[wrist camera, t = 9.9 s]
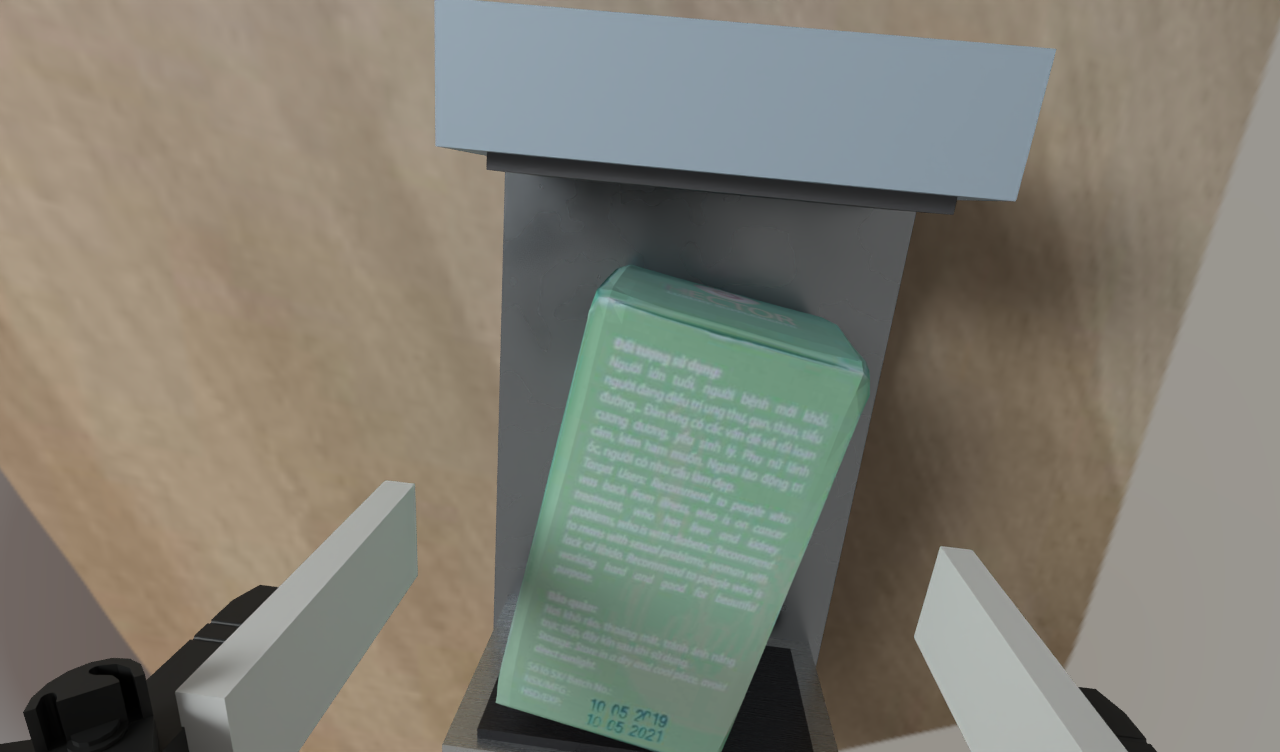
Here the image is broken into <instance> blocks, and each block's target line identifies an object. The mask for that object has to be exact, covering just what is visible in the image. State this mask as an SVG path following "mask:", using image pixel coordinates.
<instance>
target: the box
mask: <svg viewBox="0 0 1280 752" xmlns="http://www.w3.org/2000/svg"><path fill="white" fill-rule="evenodd" d="M869 396H870V371H869V369H868V366H867V363H866V361H865V360H864V359H863V358H862V356H861V355H860V354H859V353H858V352H857V351H856V350H855V348H854V347H853V346H852V344H851V343H850V342H849V340H848V339H847V338H846V336H845V335H844V333H843V332H842V331H841V329H840V328H839V327H838V325H836V324H834V323H832V322H830V321H828V320H826V319H824V318H822V317H819V316H815V315H811V314H807V313H804V312H800V311H796V310H792V309H788V308H784V307H781V306H777V305H773V304H770V303H766V302H763V301H759V300H755V299H752V298H748V297H745V296H741V295H738V294H734V293H730V292H727V291H723V290H720V289H716V288H712V287H709V286H705V285H702V284H698V283H694V282H691V281H687V280H683V279H680V278H676V277H673V276H669V275H666V274H662V273H659V272H655V271H652V270H648V269H645V268H641V267H638V266H634V265H628V266H624V267H620V268H617V269H616V270H615V271H614V272H613V273H612V274H611V275H610V276H609V277H608V278H607V279H606V280H605V281H604V282H603V283H602V284H601V285H600V286H599V287H598V289H597V291H596V294H595V296H594V299H593V302H592V305H591V307H590V310H589V313H588V319H587V323H586V327H585V331H584V335H583V339H582V343H581V347H580V351H579V355H578V359H577V363H576V367H575V371H574V375H573V379H572V383H571V387H570V391H569V395H568V399H567V403H566V407H565V411H564V416H563V420H562V424H561V428H560V432H559V436H558V440H557V444H556V448H555V452H554V456H553V460H552V464H551V468H550V472H549V476H548V480H547V484H546V488H545V493H544V497H543V501H542V505H541V509H540V513H539V517H538V521H537V525H536V529H535V533H534V537H533V541H532V545H531V549H530V553H529V558H528V562H527V566H526V570H525V573H524V577H523V581H522V585H521V589H520V593H519V597H518V601H517V605H516V609H515V613H514V616H513V620H512V624H511V628H510V632H509V636H508V640H507V644H506V648H505V652H504V656H503V661H502V665H501V669H500V673H499V679H498V687H497V698H496V703H497V704H501V705H504V706H507V707H511V708H514V709H517V710H521V711H524V712H527V713H530V714H534V715H537V716H540V717H543V718H547V719H550V720H553V721H557V722H560V723H563V724H566V725H570V726H573V727H576V728H579V729H583V730H586V731H589V732H593V733H596V734H599V735H602V736H606V737H609V738H612V739H615V740H619V741H622V742H625V743H629V744H632V745H635V746H638V747H642V748H645V749H648V750H651V751H655V752H721V751H722V749H723V747H724V745H725V742H726V740H727V738H728V735H729V733H730V731H731V729H732V726H733V724H734V721H735V719H736V716H737V714H738V712H739V709H740V707H741V704H742V702H743V699H744V697H745V694H746V692H747V690H748V687H749V685H750V682H751V680H752V678H753V675H754V673H755V670H756V668H757V666H758V663H759V661H760V658H761V656H762V653H763V651H764V649H765V646H766V644H767V641H768V639H769V637H770V634H771V632H772V629H773V627H774V625H775V622H776V620H777V617H778V615H779V612H780V610H781V608H782V605H783V603H784V600H785V598H786V596H787V593H788V591H789V588H790V586H791V584H792V581H793V579H794V577H795V574H796V572H797V569H798V567H799V565H800V562H801V560H802V557H803V555H804V553H805V550H806V548H807V546H808V543H809V541H810V538H811V536H812V534H813V531H814V529H815V526H816V524H817V521H818V519H819V516H820V514H821V511H822V509H823V506H824V504H825V501H826V499H827V496H828V494H829V491H830V489H831V486H832V484H833V481H834V479H835V476H836V474H837V472H838V469H839V467H840V464H841V462H842V459H843V457H844V454H845V452H846V449H847V447H848V445H849V442H850V440H851V437H852V435H853V432H854V430H855V427H856V425H857V422H858V420H859V418H860V415H861V413H862V411H863V409H864V407H865V405H866V402H867V400H868V398H869Z"/></svg>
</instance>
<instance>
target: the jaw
mask: <svg viewBox="0 0 1280 752" xmlns="http://www.w3.org/2000/svg"><path fill="white" fill-rule="evenodd" d="M1055 52H1056V49H1050V48H1038V47H1026V46H1014V45H1002V44H990V43H979V42H967V41H955V40H943V39H931V38H919V37H907V36H895V35H883V34H871V33H859V32H847V31H835V30H823V29H811V28H799V27H787V26H775V25H763V24H751V23H739V22H727V21H715V20H703V19H691V18H679V17H667V16H655V15H644V14H632V13H620V12H608V11H596V10H584V9H572V8H560V7H548V6H536V5H524V4H512V3H500V2H488V1H476V0H435V130H436V146H438V147H444V148H449V149H454V150H459V151H464V152H470V153H475V154H480V155H485V156H487V170H494V171H502V172H511V173H519V174H527V175H535V176H543V177H554V178H564V179H574V180H585V181H595V182H605V183H616V184H626V185H636V186H647V187H657V188H667V189H678V190H688V191H698V192H709V193H719V194H729V195H740V196H750V197H760V198H771V199H781V200H791V201H802V202H812V203H822V204H832V205H843V206H853V207H863V208H874V209H885V210H898V211H911V212H924V213H937V214H950V215H953V214H954V210H955V206H956V202H957V200H978V201H1016V199H1017V195H1018V191H1019V188H1020V184H1021V180H1022V176H1023V173H1024V169H1025V165H1026V161H1027V158H1028V154H1029V150H1030V146H1031V143H1032V139H1033V135H1034V131H1035V127H1036V124H1037V120H1038V116H1039V112H1040V109H1041V105H1042V101H1043V97H1044V94H1045V90H1046V86H1047V82H1048V79H1049V75H1050V71H1051V67H1052V64H1053V60H1054V56H1055Z"/></svg>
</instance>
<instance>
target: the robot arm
mask: <svg viewBox="0 0 1280 752" xmlns="http://www.w3.org/2000/svg"><path fill="white" fill-rule="evenodd" d="M417 576H418V566H417V534H416V502H415V484H413V483H404V482H396V481H387V480H385V481H384V482H383V483H382V484H381V485H380V486H379V487H378V488H377V489H376V490H375V491H374V492H373V493H372V494H371V495H370V496H369V497H368V498H367V499H366V500H365V501H364V502H363V503H362V504H361V505H360V506H359V507H358V508H357V509H356V510H355V511H354V512H353V513H352V514H351V515H350V516H349V517H348V518H347V519H346V520H345V521H344V522H343V523H342V524H341V525H340V526H339V527H338V528H337V529H336V530H335V531H334V532H333V533H332V534H331V535H330V536H329V537H328V538H327V539H326V540H325V541H324V542H323V543H322V544H321V545H320V546H319V547H318V548H317V549H316V550H315V551H314V552H313V553H312V554H311V555H310V556H309V557H308V558H307V559H306V560H305V561H304V562H303V563H302V564H301V565H300V566H299V567H298V568H297V569H296V571H295V572H294V573H293V574H292V575H291V576H290V577H289V578H288V579H287V580H286V581H285V582H284V583H283V584H282V585H281V586H280V587H272V586H264V585H259V586H257V587H255V588H254V589H252V590H250V591H248V592H246V593H245V594H243V595H241V596H239V597H237V598H236V599H234V600H232V601H231V602H230V603H229V604H228V605H227V606H226V607H225V608H224V609H223V610H221V611H220V612H219V613H218V614H217V615H216V616H215V617H214V618H213V619H212V621H211V623H210V624H208V623H207V624H206V625H205V626H204V627H203V628H202V629H201V630H200V631H199V632H198V633H197V634H196V635H195V636H194V639H193V640H189V641H188V642H187V643H186V644H185V645H184V646H183V647H182V648H181V649H179V650H178V651H177V652H176V653H175V654H174V655H173V656H172V657H171V658H170V659H169V660H168V661H167V662H166V663H164V664H163V665H162V666H161V667H160V668H159V669H158V670H157V671H156V672H155V673H154V674H153V675H152V676H150V677H149V678H148V679H147V680H146V678H145V674H144V671H143V668H142V666H141V664H139V663H137V662H135V661H133V660H131V659H123V658H121V659H120V658H110V659H105V660H101V661H96V662H91V663H88V664H85V665H83V666H80V667H78V668H75V669H73V670H70V671H68V672H66V673H64V674H63V675H61V676H59V677H58V678H56V679H54V680H53V681H51V682H49V683H47V684H46V685H45V686H44V687H43V688H42V689H41V690H40V691H39V692H38V693H36V694H35V695H34V696H33V697H32V698H31V700H30V701H29V703H28V705H27V707H26V709H25V710H24V712H23V713H24V717H25V720H26V723H27V726H28V730H29V733H30V736H31V740H25V741H18V742H11V743H4V744H0V752H299V750H300V749H301V747H302V746H303V744H304V743H305V741H306V740H307V738H308V737H309V735H310V734H311V732H312V731H313V729H314V728H315V727H316V725H317V724H318V722H319V721H320V719H321V718H322V716H323V715H324V713H325V712H326V710H327V709H328V707H329V706H330V704H331V703H332V701H333V700H334V698H335V697H336V695H337V694H338V693H339V691H340V690H341V688H342V687H343V685H344V684H345V682H346V681H347V679H348V678H349V676H350V675H351V673H352V672H353V670H354V669H355V667H356V666H357V664H358V663H359V661H360V660H361V658H362V657H363V656H364V654H365V653H366V651H367V650H368V648H369V647H370V645H371V644H372V642H373V641H374V639H375V638H376V636H377V635H378V633H379V632H380V630H381V629H382V627H383V626H384V624H385V623H386V621H387V620H388V619H389V617H390V616H391V614H392V613H393V611H394V610H395V608H396V607H397V605H398V604H399V602H400V601H401V599H402V598H403V596H404V595H405V593H406V592H407V590H408V589H409V587H410V586H411V585H412V583H413V582H414V580H415V579H416V577H417ZM914 638H915V640H916V642H917V644H918V646H919V648H920V650H921V652H922V654H923V656H924V659H925V661H926V663H927V665H928V667H929V669H930V671H931V673H932V675H933V677H934V679H935V681H936V683H937V685H938V687H939V689H940V691H941V693H942V695H943V697H944V699H945V701H946V703H947V705H948V707H949V709H950V711H951V713H952V715H953V717H954V719H955V721H956V723H957V725H958V727H959V729H960V731H961V733H962V735H963V737H964V739H965V741H966V743H967V745H968V747H969V749H970V751H971V752H1157V751H1156V750H1155V749H1154V748H1153V747H1152V745H1151V744H1147V742H1146V738H1145V737H1144V736H1143V734H1142V733H1141V732H1140V731H1139V730H1138V728H1137V727H1136V726H1135V725H1134V723H1133V722H1132V721H1131V720H1130V719H1129V717H1128V716H1127V715H1126V714H1125V713H1124V712H1123V711H1122V710H1121V709H1119V708H1118V707H1117V706H1116V705H1114V704H1113V703H1112V702H1111V701H1110V700H1108V699H1107V698H1106V697H1105V696H1103V695H1102V694H1101V693H1100V692H1098V691H1097V690H1096V689H1090V688H1082V687H1078V686H1077V685H1076V684H1075V683H1074V681H1073V680H1072V679H1071V677H1070V676H1069V675H1068V673H1067V672H1066V671H1065V670H1064V668H1063V667H1062V666H1061V664H1060V663H1059V662H1058V660H1057V659H1056V658H1055V657H1054V655H1053V654H1052V653H1051V651H1050V650H1049V649H1048V648H1047V646H1046V645H1045V644H1044V642H1043V641H1042V640H1041V638H1040V637H1039V636H1038V635H1037V633H1036V632H1035V631H1034V629H1033V628H1032V627H1031V625H1030V624H1029V623H1028V622H1027V620H1026V619H1025V618H1024V616H1023V615H1022V614H1021V613H1020V611H1019V610H1018V609H1017V607H1016V606H1015V605H1014V603H1013V602H1012V601H1011V600H1010V598H1009V597H1008V596H1007V594H1006V593H1005V592H1004V590H1003V589H1002V588H1001V587H1000V585H999V584H998V583H997V581H996V580H995V579H994V578H993V576H992V575H991V574H990V572H989V571H988V570H987V568H986V567H985V566H984V565H983V563H982V562H981V561H980V559H979V558H978V557H977V555H976V554H975V553H974V552H973V550H969V549H961V548H952V547H944V546H940V549H939V552H938V556H937V559H936V563H935V566H934V570H933V573H932V577H931V580H930V583H929V587H928V590H927V594H926V597H925V601H924V604H923V607H922V611H921V614H920V618H919V621H918V625H917V628H916V632H915V635H914Z"/></svg>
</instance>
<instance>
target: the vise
mask: <svg viewBox="0 0 1280 752" xmlns="http://www.w3.org/2000/svg"><path fill="white" fill-rule="evenodd" d="M915 215H916V212H911V211H898V210H885V209H874V208H863V207H853V206H843V205H832V204H822V203H812V202H802V201H791V200H781V199H771V198H760V197H750V196H740V195H729V194H719V193H709V192H698V191H688V190H678V189H667V188H657V187H647V186H636V185H626V184H616V183H605V182H595V181H585V180H574V179H564V178H554V177H543V176H535V175H527V174H519V173H511V172H505V197H504V237H503V276H502V316H501V356H500V395H499V435H498V475H497V514H496V554H495V594H494V630H493V632H492V635H491V637H490V639H489V641H488V644H487V646H486V648H485V650H484V653H483V655H482V657H481V659H480V661H479V664H478V666H477V668H476V670H475V673H474V675H473V677H472V679H471V682H470V684H469V686H468V688H467V691H466V693H465V695H464V697H463V699H462V702H461V704H460V706H459V708H458V711H457V713H456V715H455V717H454V720H453V722H452V724H451V726H450V729H449V731H448V733H447V735H446V738H445V740H444V742H443V744H442V752H655V751H651V750H648V749H645V748H642V747H638V746H635V745H632V744H629V743H625V742H622V741H619V740H615V739H612V738H609V737H606V736H602V735H599V734H596V733H593V732H589V731H586V730H583V729H579V728H576V727H573V726H570V725H566V724H563V723H560V722H557V721H553V720H550V719H547V718H543V717H540V716H537V715H534V714H530V713H527V712H524V711H521V710H517V709H514V708H511V707H507V706H504V705H501V704H497V703H496V698H497V687H498V679H499V673H500V669H501V665H502V661H503V656H504V652H505V648H506V644H507V640H508V636H509V632H510V628H511V624H512V620H513V616H514V613H515V609H516V605H517V601H518V597H519V593H520V589H521V585H522V581H523V577H524V573H525V570H526V566H527V562H528V558H529V553H530V549H531V545H532V541H533V537H534V533H535V529H536V525H537V521H538V517H539V513H540V509H541V505H542V501H543V497H544V493H545V488H546V484H547V480H548V476H549V472H550V468H551V464H552V460H553V456H554V452H555V448H556V444H557V440H558V436H559V432H560V428H561V424H562V420H563V416H564V411H565V407H566V403H567V399H568V395H569V391H570V387H571V383H572V379H573V375H574V371H575V367H576V363H577V359H578V355H579V351H580V347H581V343H582V339H583V335H584V331H585V327H586V323H587V319H588V313H589V310H590V307H591V305H592V302H593V299H594V296H595V294H596V291H597V289H598V287H599V286H600V285H601V284H602V283H603V282H604V281H605V280H606V279H607V278H608V277H609V276H610V275H611V274H612V273H613V272H614V271H615V270H616V269H617V268H620V267H624V266H628V265H634V266H638V267H641V268H645V269H648V270H652V271H655V272H659V273H662V274H666V275H669V276H673V277H676V278H680V279H683V280H687V281H691V282H694V283H698V284H702V285H705V286H709V287H712V288H716V289H720V290H723V291H727V292H730V293H734V294H738V295H741V296H745V297H748V298H752V299H755V300H759V301H763V302H766V303H770V304H773V305H777V306H781V307H784V308H788V309H792V310H796V311H800V312H804V313H807V314H811V315H815V316H819V317H822V318H824V319H826V320H828V321H830V322H832V323H834V324H836V325H838V327H839V328H840V329H841V331H842V332H843V333H844V335H845V336H846V338H847V339H848V340H849V342H850V343H851V344H852V346H853V347H854V348H855V350H856V351H857V352H858V353H859V354H860V355H861V356H862V358H863V359H864V360H865V361H866V363H867V366H868V369H869V371H870V396H869V398H868V400H867V402H866V405H865V407H864V409H863V411H862V413H861V415H860V418H859V420H858V422H857V425H856V427H855V430H854V432H853V435H852V437H851V440H850V442H849V445H848V447H847V449H846V452H845V454H844V457H843V459H842V462H841V464H840V467H839V469H838V472H837V474H836V476H835V479H834V481H833V484H832V486H831V489H830V491H829V494H828V496H827V499H826V501H825V504H824V506H823V509H822V511H821V514H820V516H819V519H818V521H817V524H816V526H815V529H814V531H813V534H812V536H811V538H810V541H809V543H808V546H807V548H806V550H805V553H804V555H803V557H802V560H801V562H800V565H799V567H798V569H797V572H796V574H795V577H794V579H793V581H792V584H791V586H790V588H789V591H788V593H787V596H786V598H785V600H784V603H783V605H782V608H781V610H780V612H779V615H778V617H777V620H776V622H775V625H774V627H773V629H772V632H771V634H770V637H769V639H768V641H767V644H766V646H765V649H764V651H763V653H762V656H761V658H760V661H759V663H758V666H757V668H756V670H755V673H754V675H753V678H752V680H751V682H750V685H749V687H748V690H747V692H746V694H745V697H744V699H743V702H742V704H741V707H740V709H739V712H738V714H737V716H736V719H735V721H734V724H733V726H732V729H731V731H730V733H729V735H728V738H727V740H726V742H725V745H724V747H723V749H722V751H721V752H838V749H837V745H836V741H835V737H834V734H833V730H832V726H831V723H830V719H829V715H828V711H827V708H826V704H825V700H824V697H823V693H822V689H821V685H820V682H819V678H818V674H817V671H816V664H817V660H818V655H819V651H820V646H821V641H822V637H823V632H824V628H825V623H826V619H827V614H828V610H829V605H830V601H831V596H832V592H833V587H834V583H835V578H836V573H837V569H838V564H839V560H840V555H841V551H842V546H843V542H844V537H845V533H846V528H847V524H848V519H849V515H850V510H851V505H852V501H853V496H854V492H855V487H856V483H857V478H858V474H859V469H860V465H861V460H862V456H863V451H864V447H865V442H866V437H867V433H868V428H869V424H870V419H871V415H872V410H873V406H874V401H875V397H876V392H877V388H878V383H879V379H880V374H881V369H882V365H883V360H884V356H885V351H886V347H887V342H888V338H889V333H890V329H891V324H892V320H893V315H894V311H895V306H896V302H897V297H898V292H899V288H900V283H901V279H902V274H903V270H904V265H905V261H906V256H907V252H908V247H909V243H910V238H911V234H912V229H913V224H914V220H915Z"/></svg>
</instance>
